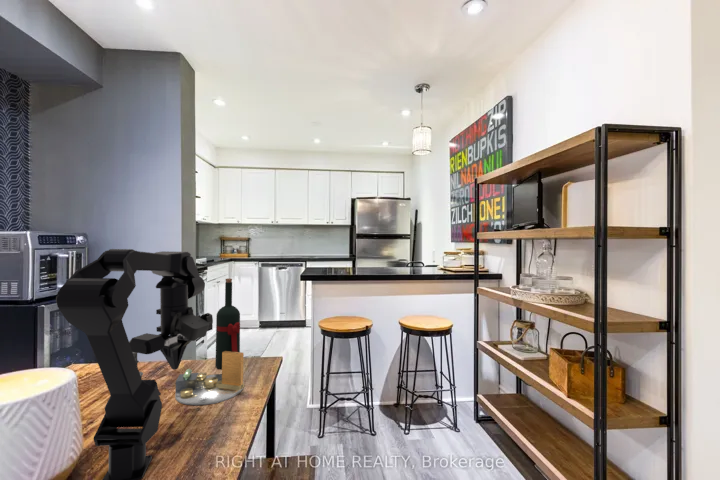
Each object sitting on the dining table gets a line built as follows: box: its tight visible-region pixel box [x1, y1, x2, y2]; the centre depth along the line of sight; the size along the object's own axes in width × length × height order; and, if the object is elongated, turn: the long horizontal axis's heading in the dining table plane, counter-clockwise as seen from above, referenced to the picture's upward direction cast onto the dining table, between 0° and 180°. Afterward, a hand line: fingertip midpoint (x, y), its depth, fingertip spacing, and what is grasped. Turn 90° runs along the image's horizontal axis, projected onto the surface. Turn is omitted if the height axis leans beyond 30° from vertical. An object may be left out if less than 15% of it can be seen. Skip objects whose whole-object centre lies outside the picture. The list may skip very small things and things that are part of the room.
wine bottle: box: [214, 278, 241, 370], centre depth 114 cm, size 8×10×30 cm
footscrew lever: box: [204, 351, 245, 390], centre depth 95 cm, size 12×4×10 cm, turn 77°
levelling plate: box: [174, 368, 245, 407], centre depth 95 cm, size 18×18×6 cm
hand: (175, 369), depth 79 cm, fingers closed
